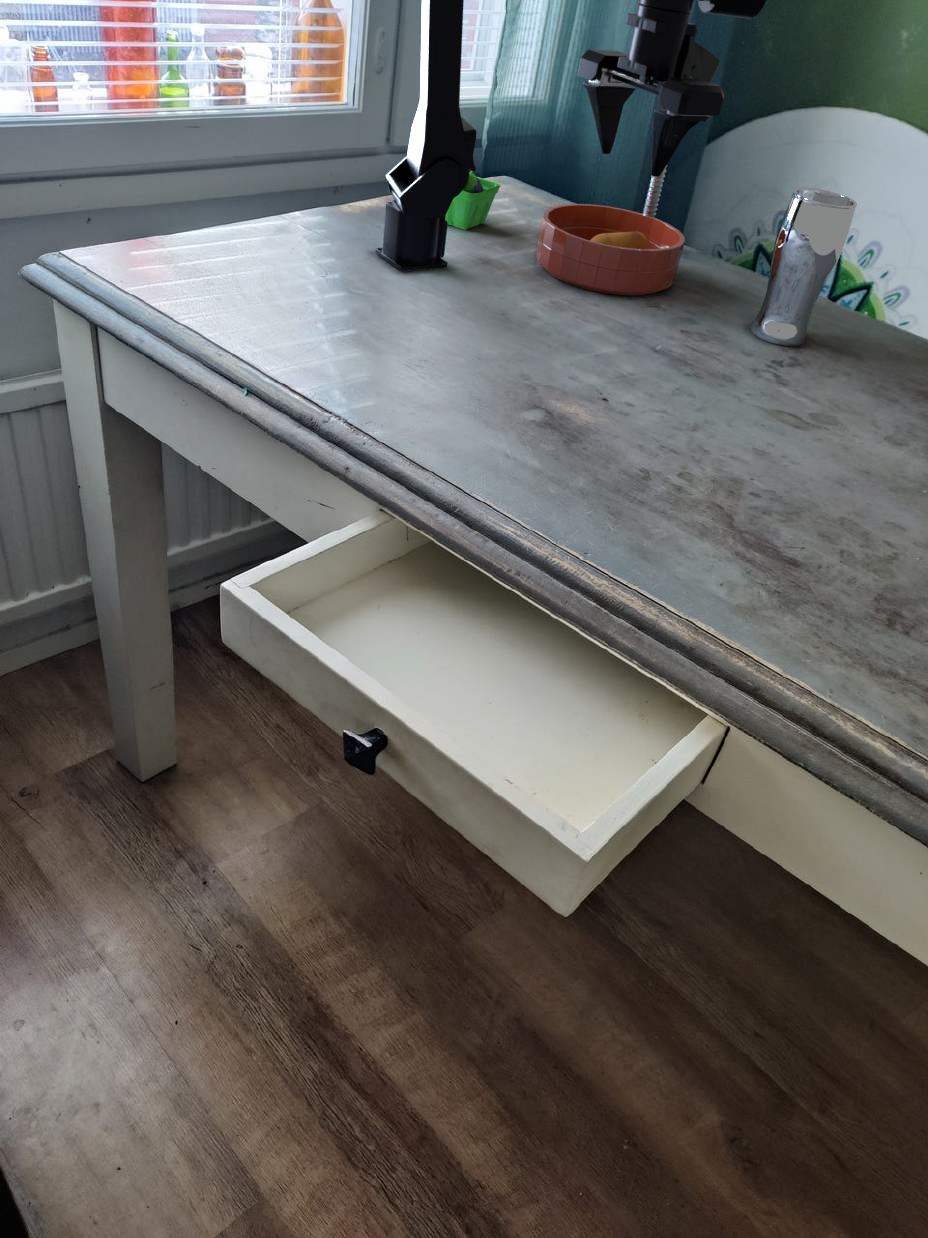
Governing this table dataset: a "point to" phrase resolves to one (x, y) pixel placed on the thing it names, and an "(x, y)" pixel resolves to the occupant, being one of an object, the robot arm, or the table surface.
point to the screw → (653, 194)
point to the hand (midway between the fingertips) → (630, 164)
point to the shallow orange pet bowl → (608, 250)
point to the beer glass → (802, 262)
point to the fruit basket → (472, 203)
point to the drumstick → (623, 240)
